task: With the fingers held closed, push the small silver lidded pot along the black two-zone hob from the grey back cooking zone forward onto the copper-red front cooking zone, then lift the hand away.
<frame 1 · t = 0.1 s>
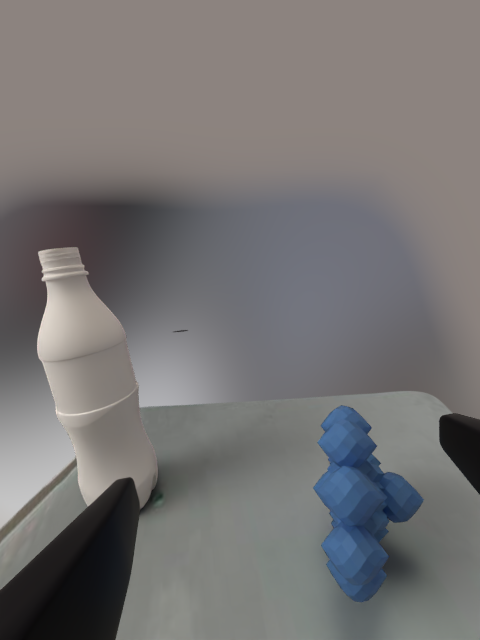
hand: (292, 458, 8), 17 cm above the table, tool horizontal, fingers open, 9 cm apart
water bottle: (127, 499, 30), on the table
grapes: (370, 567, 21), on the table
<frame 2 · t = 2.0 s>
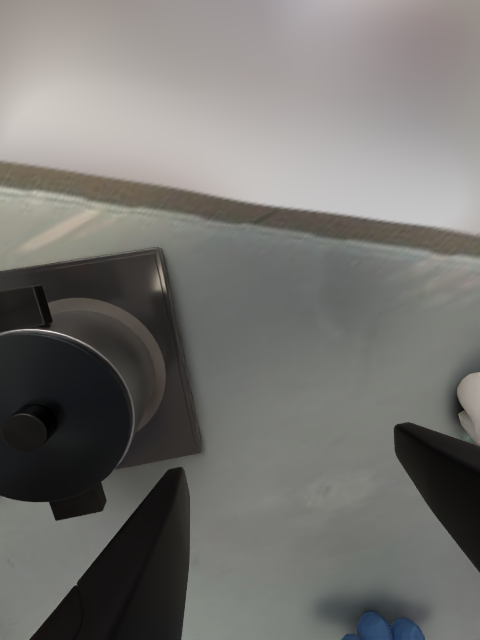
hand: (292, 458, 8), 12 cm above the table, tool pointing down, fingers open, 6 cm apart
grapes: (364, 618, 27), on the table
pot: (85, 376, 18), point 1 cm above the table, touching hob
hob: (7, 384, 19), on the table
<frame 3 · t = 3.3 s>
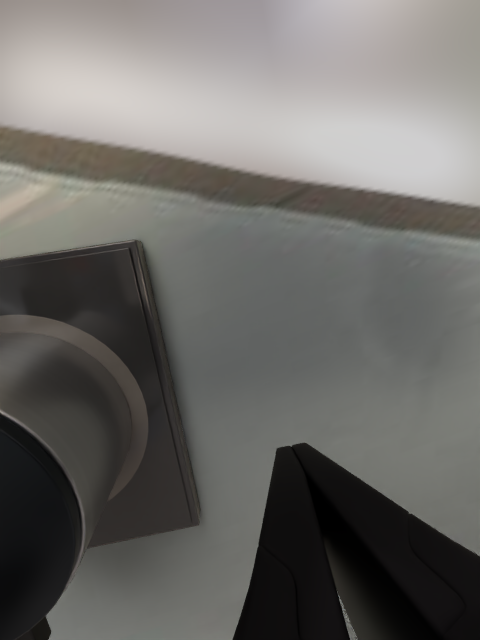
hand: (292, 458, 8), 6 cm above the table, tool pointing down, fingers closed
pot: (31, 426, 13), point 1 cm above the table, touching hob
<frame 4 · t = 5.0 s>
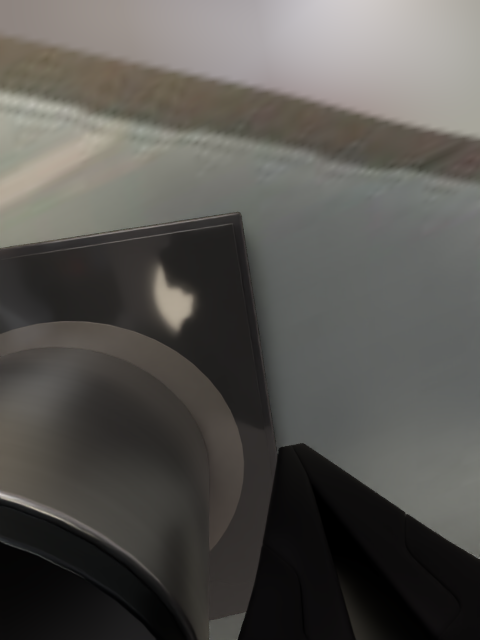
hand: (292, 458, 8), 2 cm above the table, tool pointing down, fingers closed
pot: (70, 479, 9), point 1 cm above the table, touching gripper
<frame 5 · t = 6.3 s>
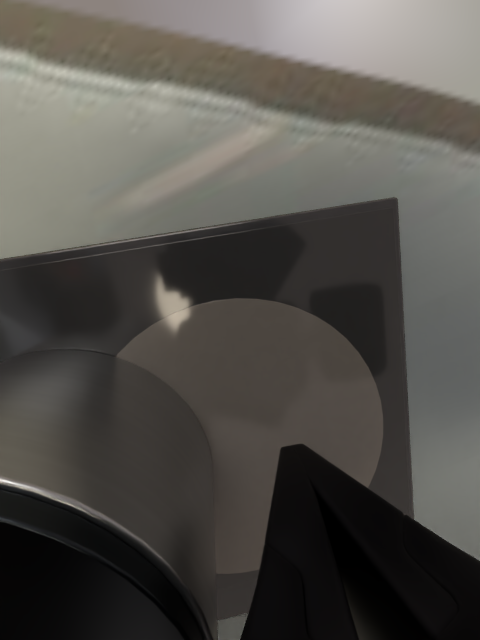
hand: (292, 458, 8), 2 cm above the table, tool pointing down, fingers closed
pot: (76, 479, 9), point 1 cm above the table, touching gripper
hob: (82, 461, 10), on the table
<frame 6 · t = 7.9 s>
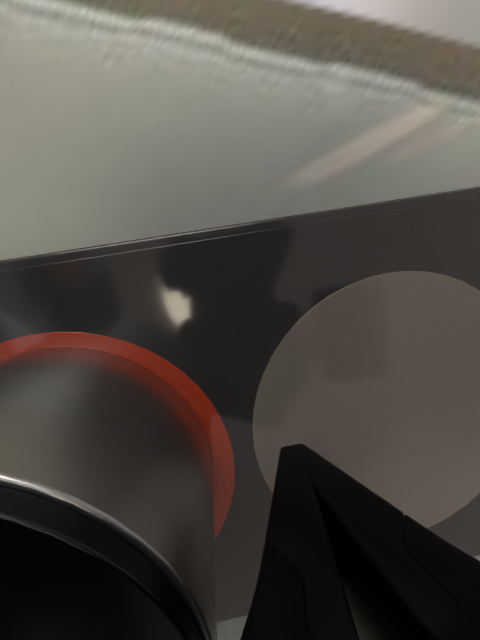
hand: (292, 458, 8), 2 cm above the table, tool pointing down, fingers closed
pot: (76, 477, 9), point 1 cm above the table, touching gripper, hob
hob: (232, 431, 11), on the table
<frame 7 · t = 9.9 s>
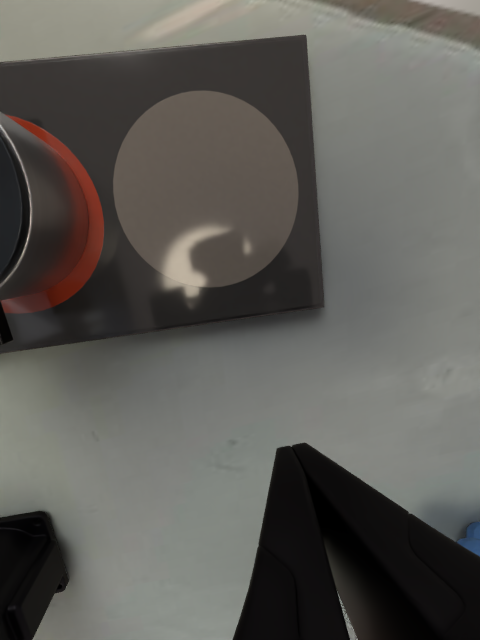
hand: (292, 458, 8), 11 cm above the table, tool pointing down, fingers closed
grapes: (467, 532, 24), on the table
pot: (3, 214, 15), point 1 cm above the table, touching hob
hob: (111, 211, 17), on the table
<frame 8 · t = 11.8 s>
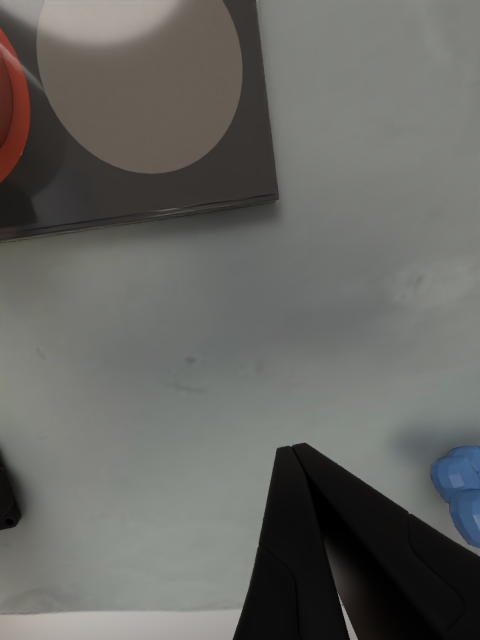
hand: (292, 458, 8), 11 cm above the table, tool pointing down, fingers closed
grapes: (449, 462, 23), on the table
hob: (41, 93, 15), on the table
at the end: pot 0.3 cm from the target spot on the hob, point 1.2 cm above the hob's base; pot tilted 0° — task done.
